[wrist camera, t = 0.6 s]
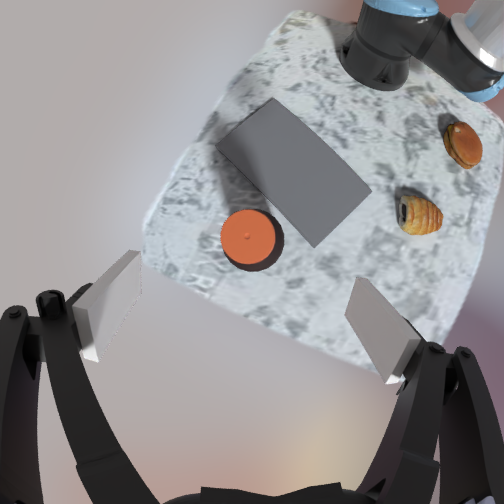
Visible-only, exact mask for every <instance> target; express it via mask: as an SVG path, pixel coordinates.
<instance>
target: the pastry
mask: <svg viewBox="0 0 504 504" xmlns="http://www.w3.org/2000/svg"><path fill="white" fill-rule="evenodd" d="M399 214H400V217H399V226H400V228H401V229H402V230H403V231H405V232H407V233H408V234H410V235H424V234H428V233H432V232H434V231H437V230H439V229H440V227H441V226H442V219H443V214H442V213H441V211H440V209H439V208H437V206H436V205H435V204H432V203H431V202H430V201H426V200H425V199H424V198H418V197H417V196H405V195H404V196H402V197H401V200H400V204H399Z"/></svg>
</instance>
